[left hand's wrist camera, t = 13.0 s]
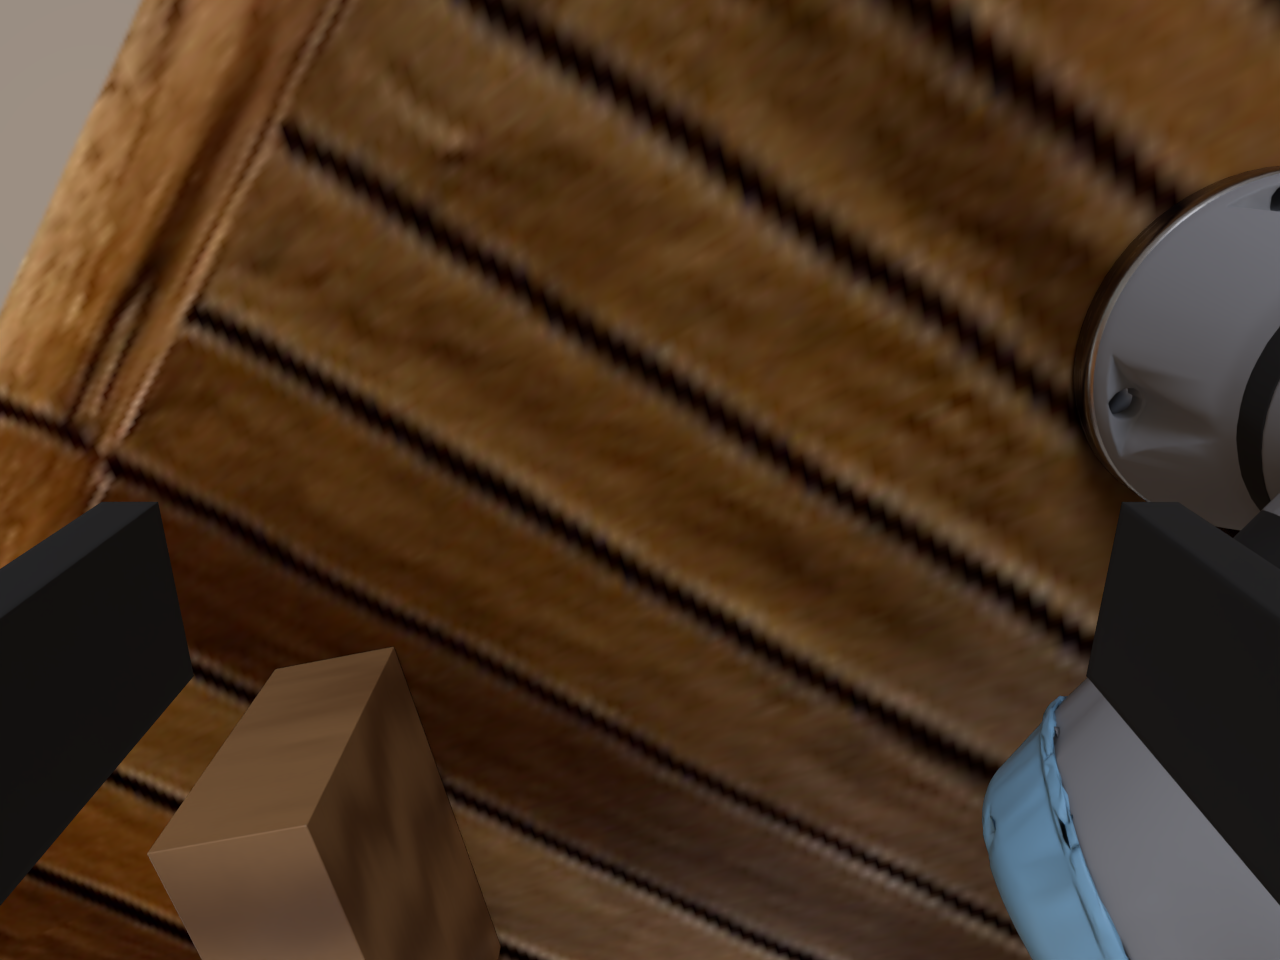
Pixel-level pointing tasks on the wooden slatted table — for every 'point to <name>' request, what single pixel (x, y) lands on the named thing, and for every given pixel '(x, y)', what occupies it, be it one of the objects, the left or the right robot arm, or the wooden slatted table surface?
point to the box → (325, 830)
